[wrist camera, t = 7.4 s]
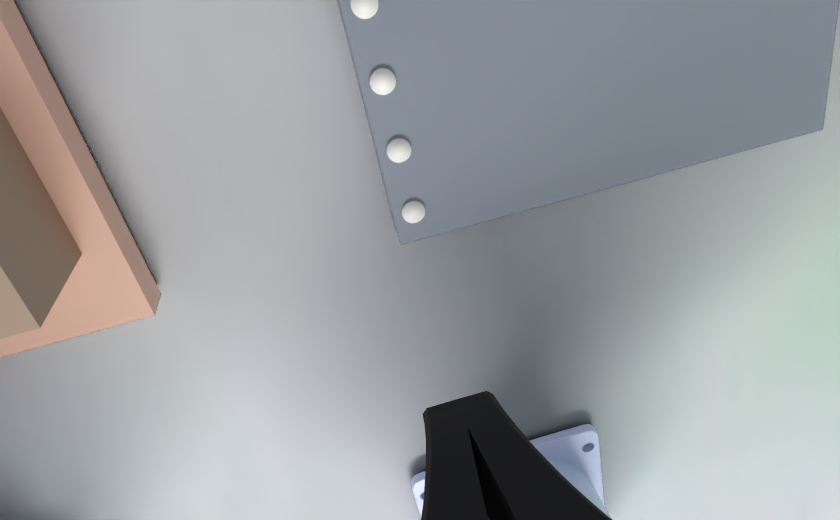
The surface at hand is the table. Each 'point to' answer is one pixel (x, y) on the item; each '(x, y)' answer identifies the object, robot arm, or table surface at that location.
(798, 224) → the table surface
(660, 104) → the board
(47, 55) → the table surface
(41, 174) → the stub
